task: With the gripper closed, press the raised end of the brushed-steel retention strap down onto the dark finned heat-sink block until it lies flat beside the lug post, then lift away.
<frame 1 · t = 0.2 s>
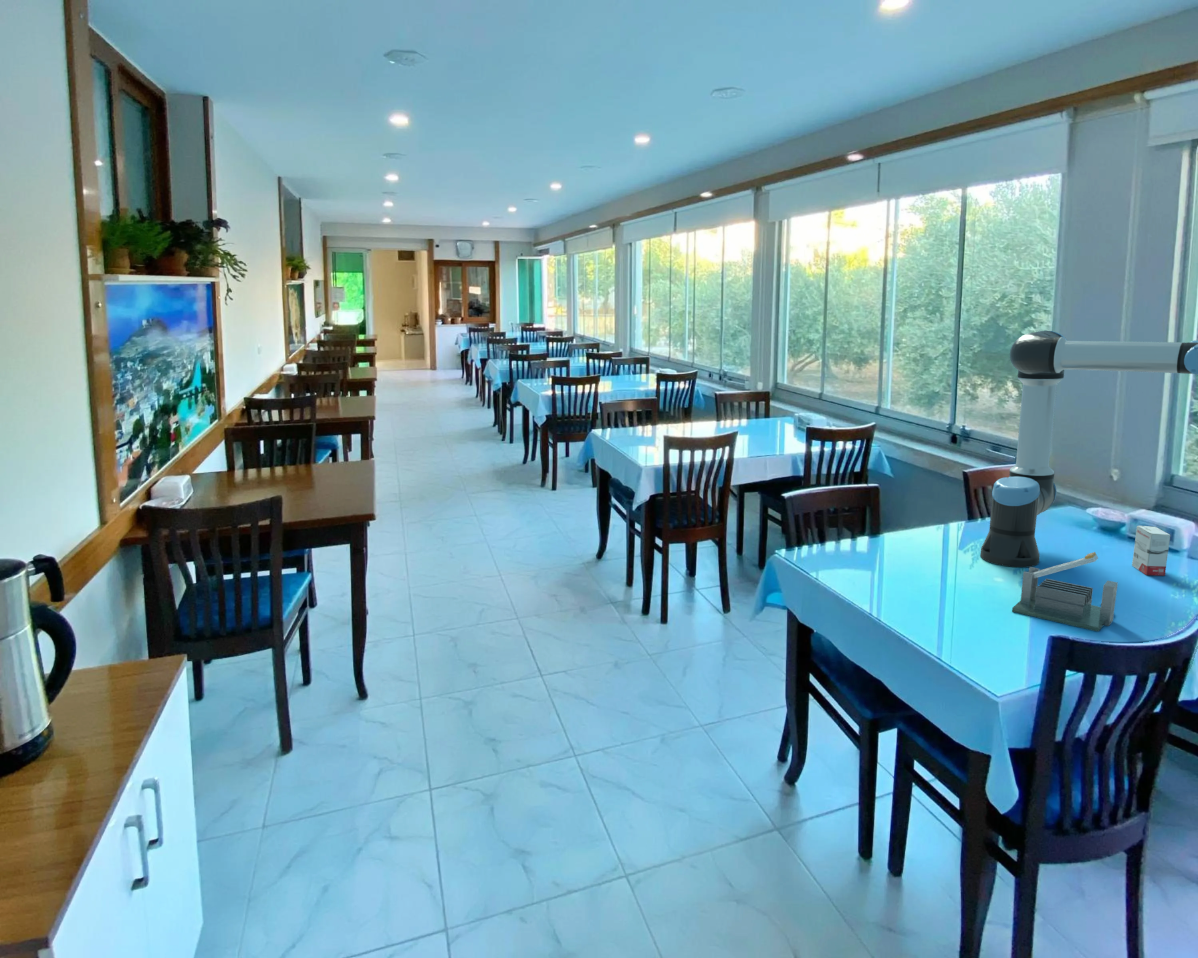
strap: (1060, 566, 183), point 11 cm above the table, hinge at 30.0°
heatsink: (1062, 612, 184), on the table
ink box: (1147, 571, 211), on the table
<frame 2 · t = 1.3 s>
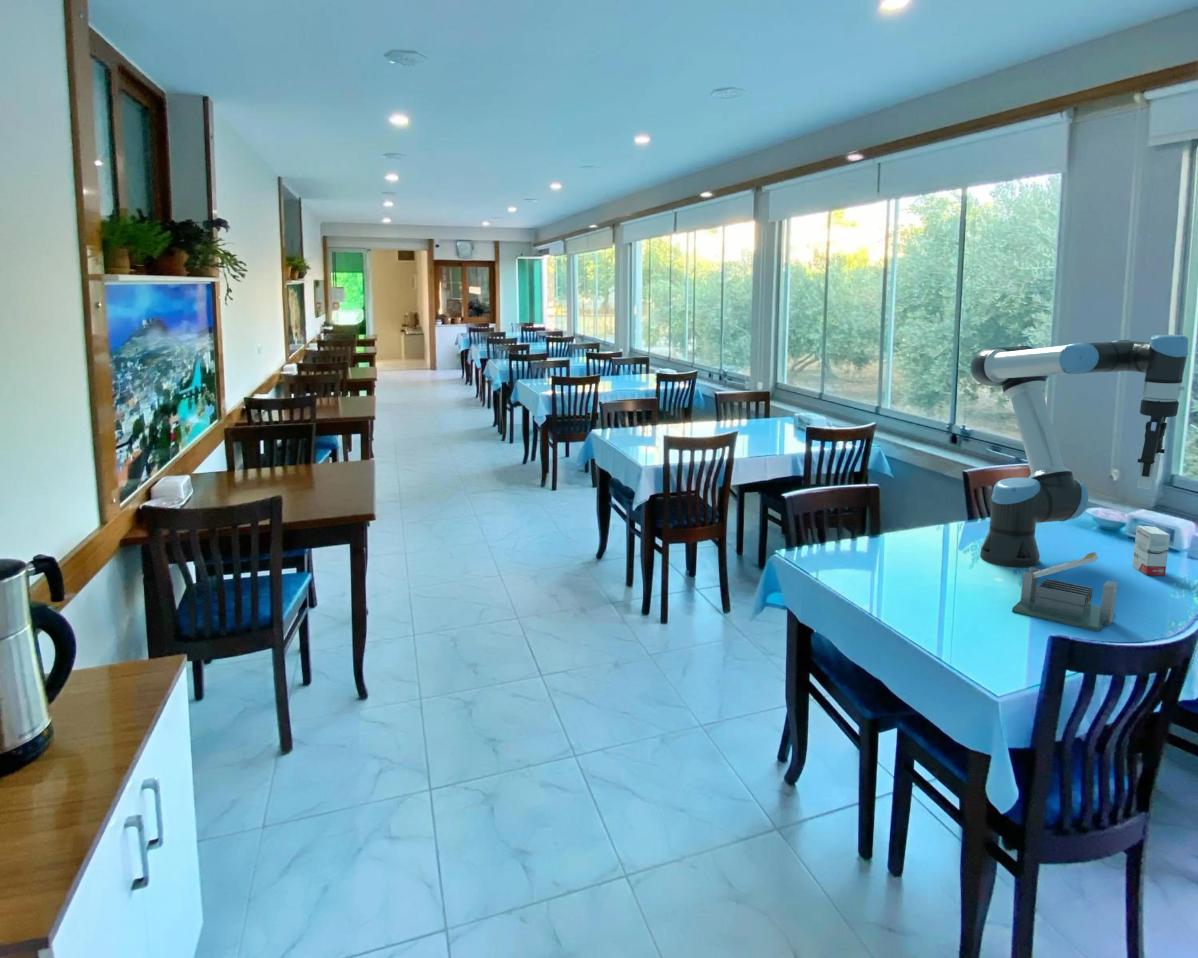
hand: (1147, 483, 192), 28 cm above the table, fingers open, 13 cm apart
nothing on the table moved.
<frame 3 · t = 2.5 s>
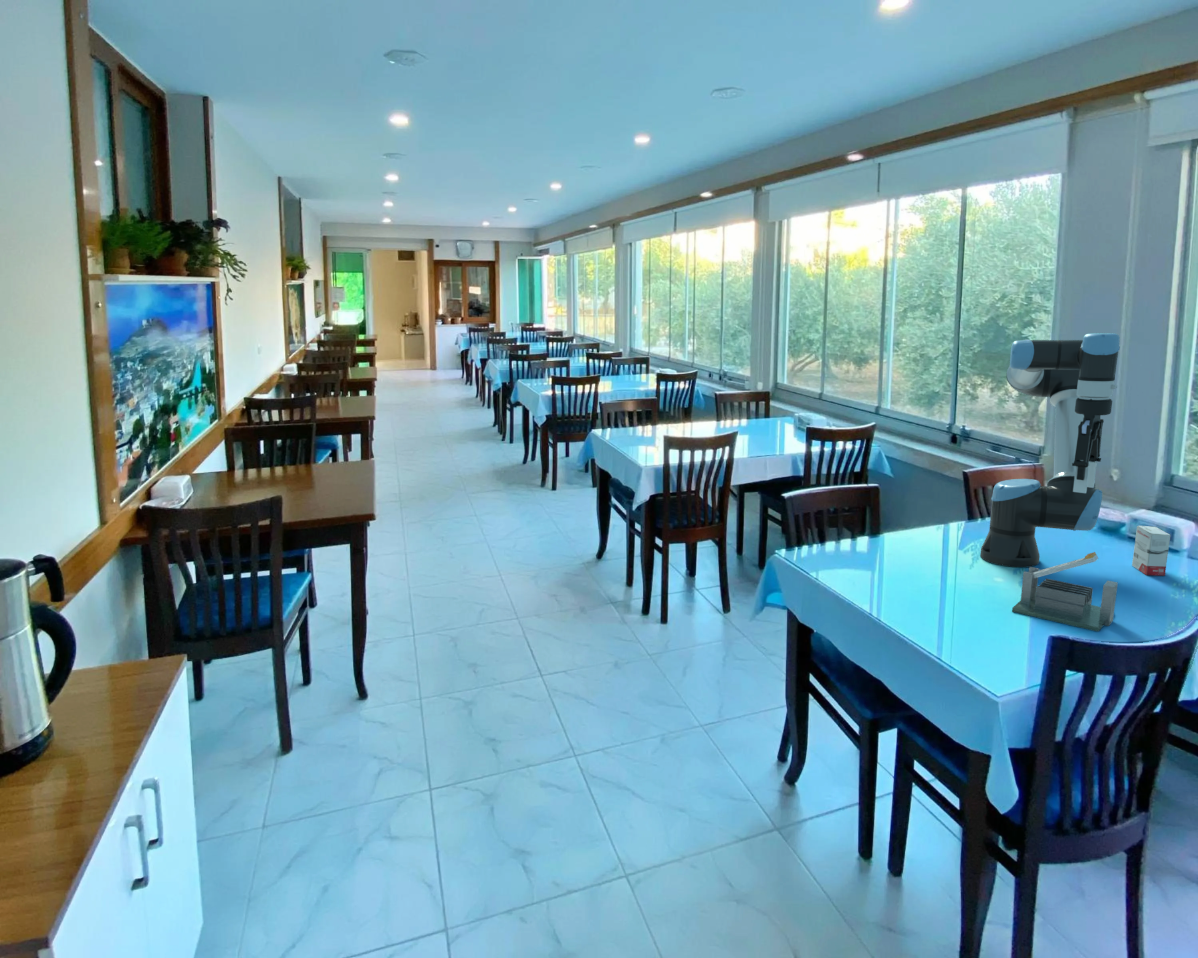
hand: (1083, 489, 192), 27 cm above the table, fingers open, 7 cm apart
nothing on the table moved.
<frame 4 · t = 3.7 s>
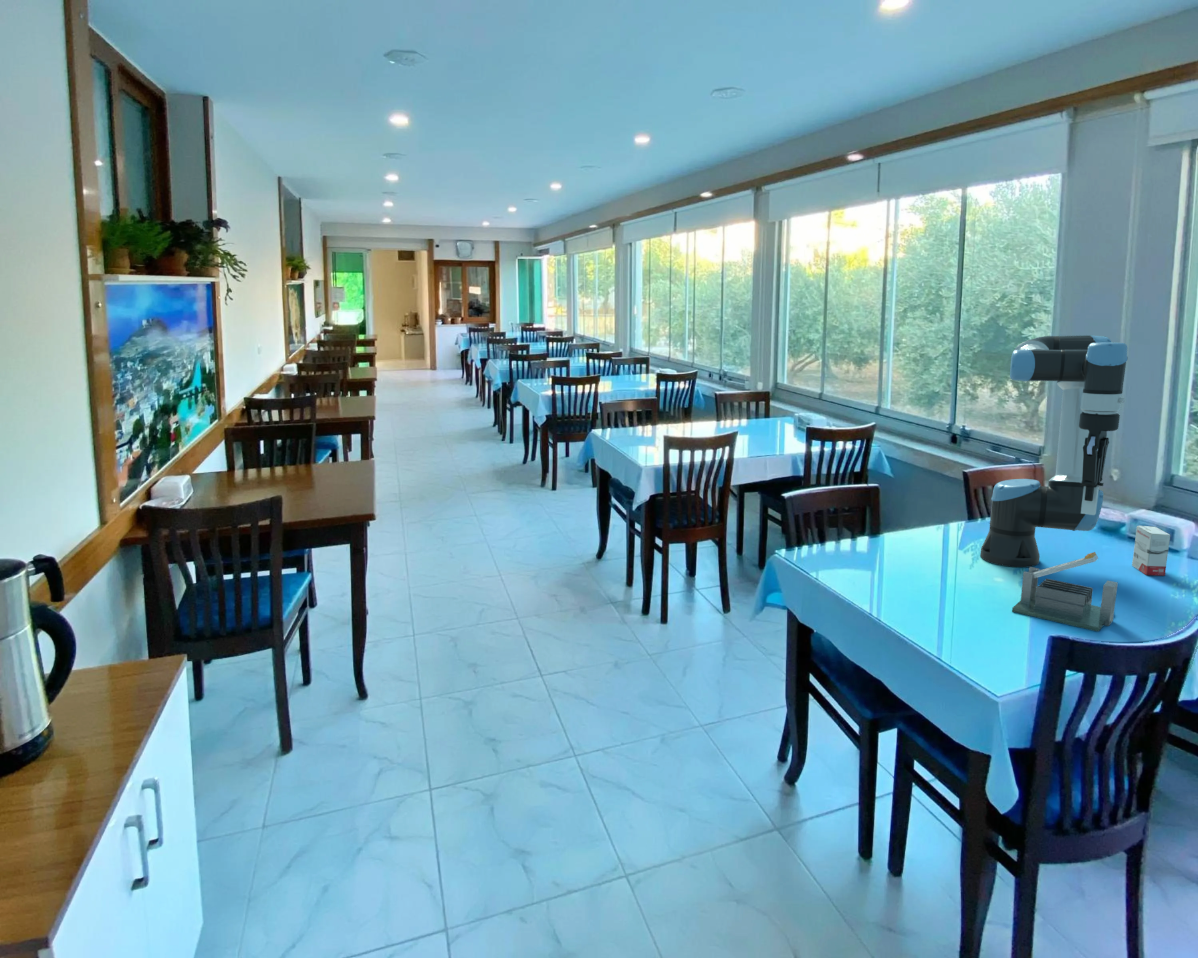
hand: (1088, 513, 177), 25 cm above the table, fingers closed
nothing on the table moved.
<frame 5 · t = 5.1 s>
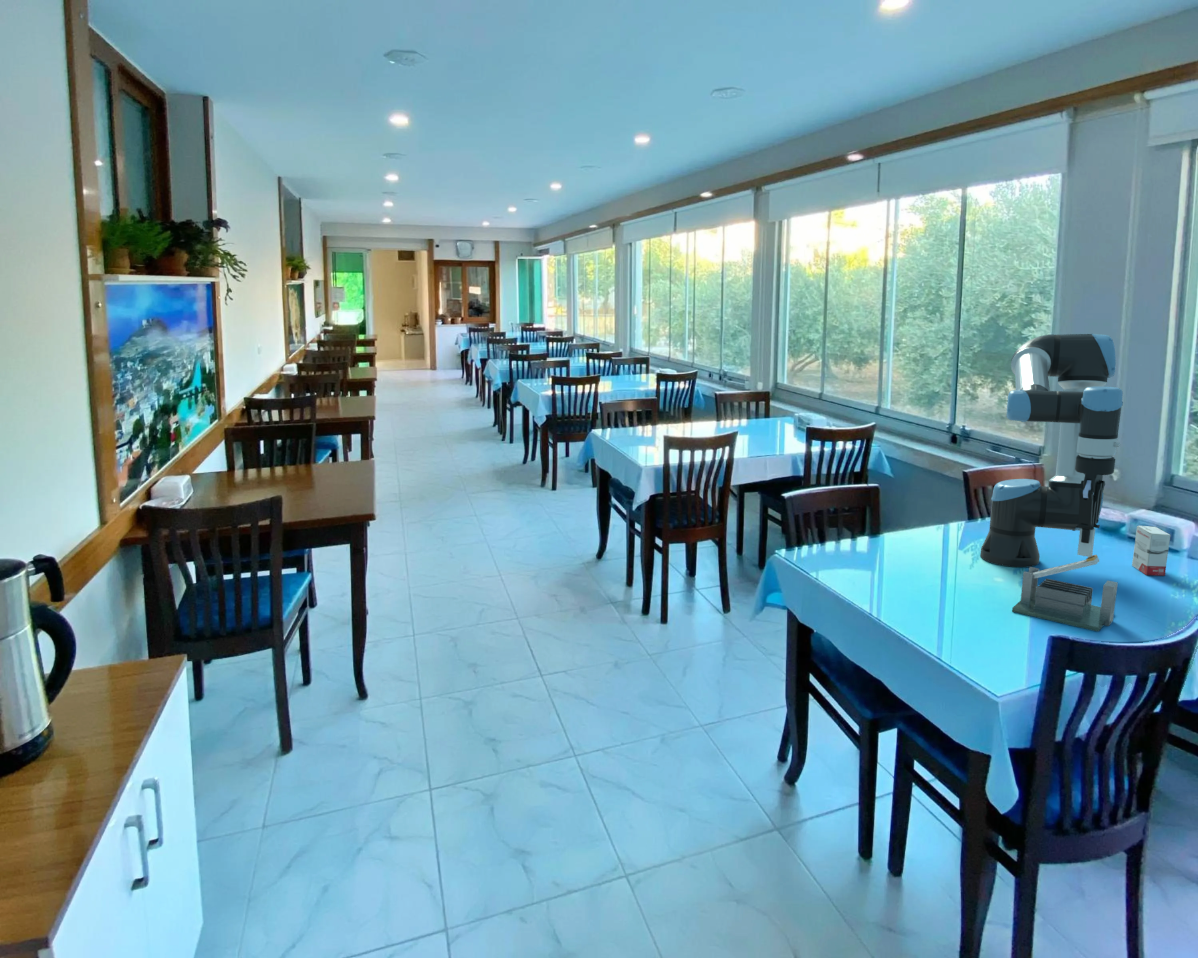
hand: (1084, 555, 179), 15 cm above the table, fingers closed
strap: (1061, 567, 183), point 11 cm above the table, hinge at 27.4°, touching gripper
everything else where it was.
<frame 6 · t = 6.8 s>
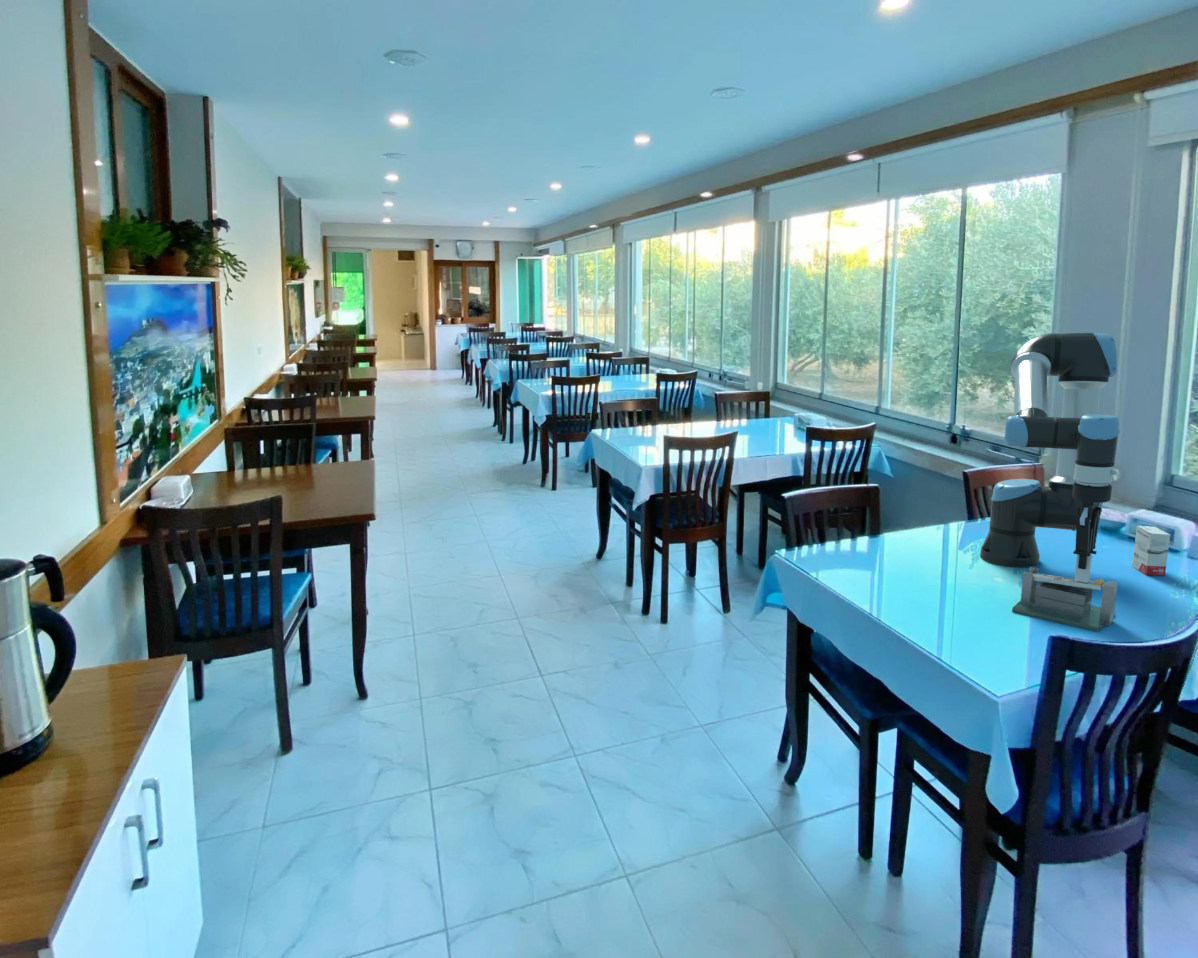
hand: (1081, 580, 180), 9 cm above the table, fingers closed
strap: (1064, 579, 183), point 8 cm above the table, hinge at 3.9°, touching gripper
everything else where it was.
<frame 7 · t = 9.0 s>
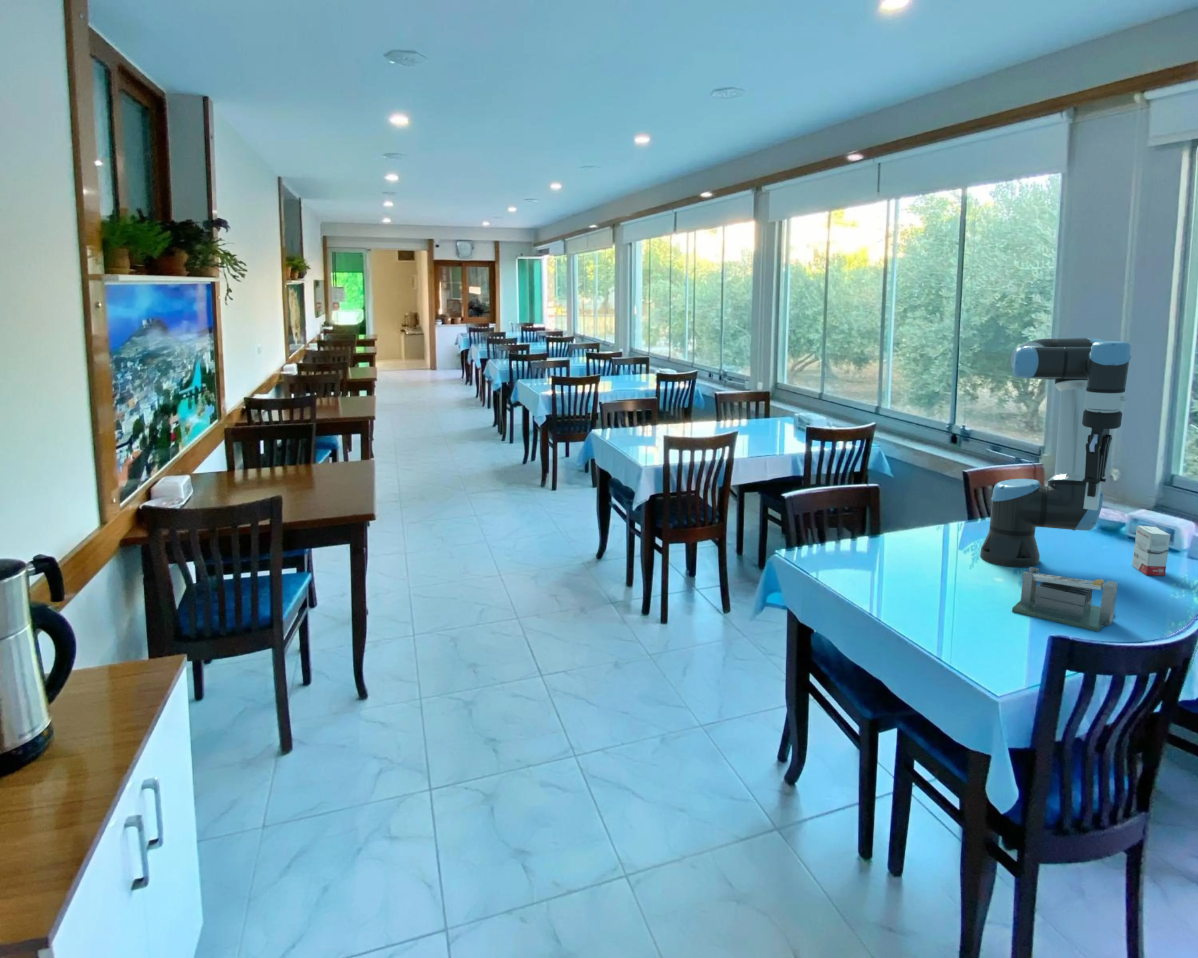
hand: (1090, 508, 181), 25 cm above the table, fingers closed
strap: (1064, 579, 183), point 8 cm above the table, hinge at 3.9°
everything else where it was.
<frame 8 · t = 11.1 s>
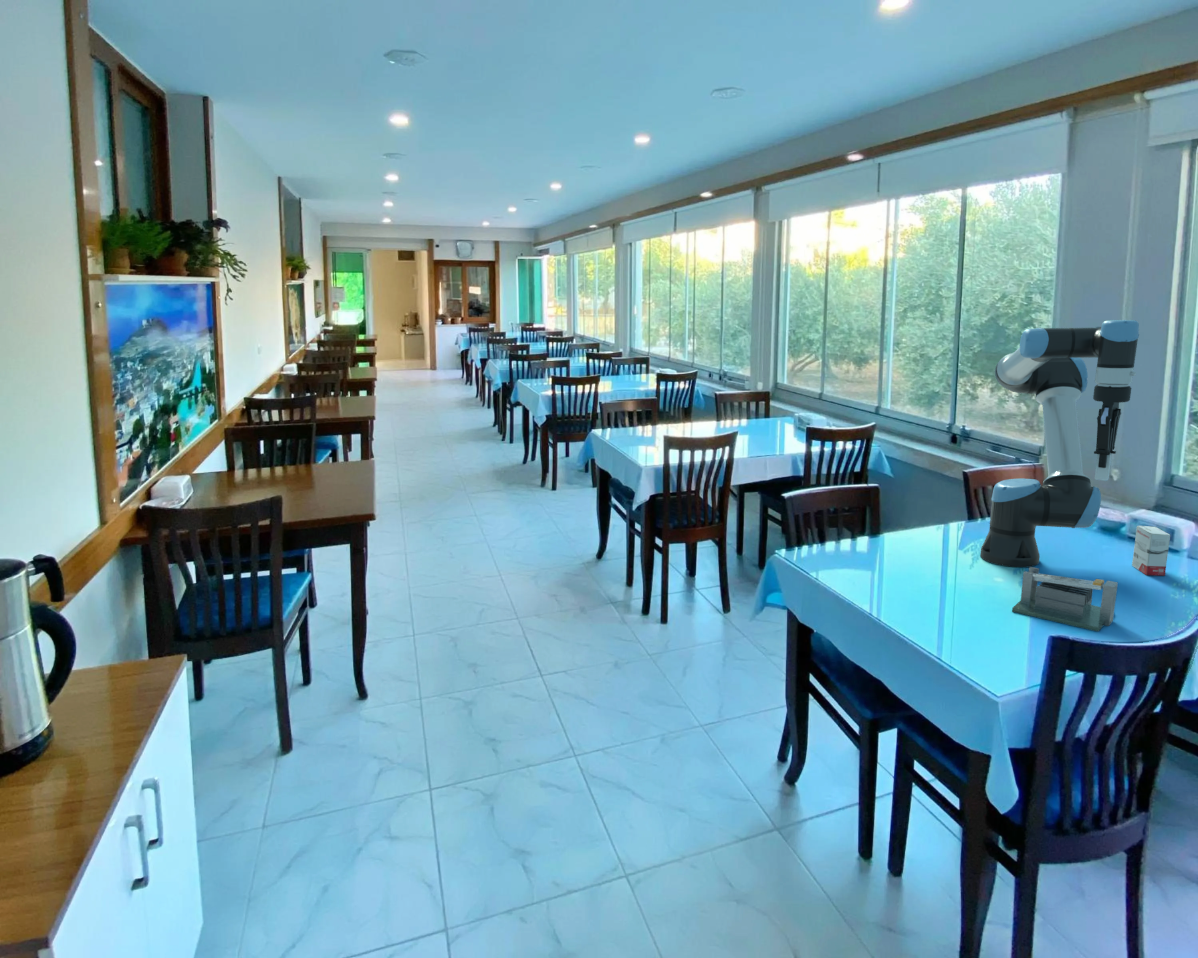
hand: (1101, 479, 191), 29 cm above the table, fingers closed
nothing on the table moved.
at the end: strap at +4° (first picture: +30°) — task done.
